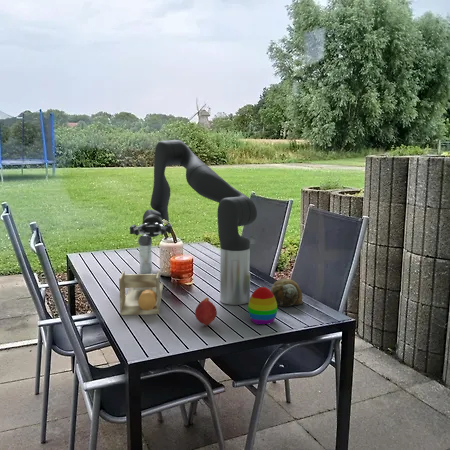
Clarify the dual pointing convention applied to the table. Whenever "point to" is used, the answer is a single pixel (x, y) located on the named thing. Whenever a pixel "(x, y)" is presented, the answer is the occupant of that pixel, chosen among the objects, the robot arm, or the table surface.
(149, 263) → the shaft
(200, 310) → the onion
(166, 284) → the table surface
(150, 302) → the rounded orange object
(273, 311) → the decorative egg
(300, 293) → the seashell
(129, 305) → the frame
